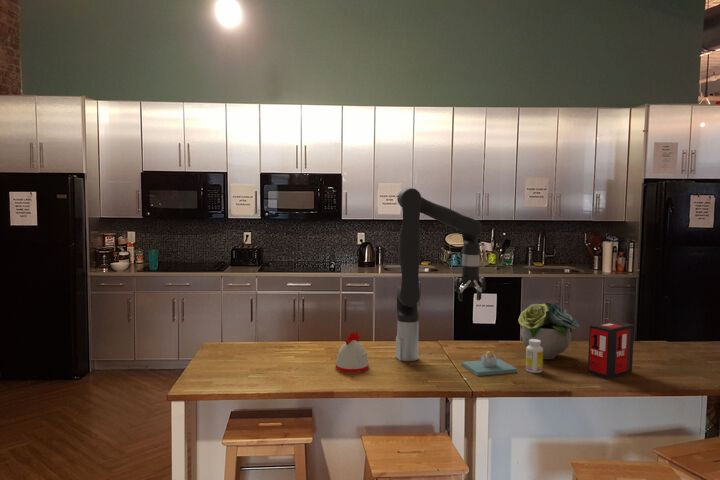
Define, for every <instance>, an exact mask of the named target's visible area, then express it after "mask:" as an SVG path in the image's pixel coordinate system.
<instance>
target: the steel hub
mask: <svg viewBox="0 0 720 480" xmlns="http://www.w3.org/2000/svg"><path fill="white" fill-rule="evenodd" d="M497 359H498V356H497V355H496V354H493V353H492V357H486V353H482V354H481V355H480V360H481V365H482V366H483V367H488V368H493V367H496V366H497Z"/></svg>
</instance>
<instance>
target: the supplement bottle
mask: <svg viewBox="0 0 720 480" xmlns="http://www.w3.org/2000/svg"><path fill="white" fill-rule="evenodd" d="M540 344H541V341H540V340H537V339H530V340H529V346H527V348H526V347H525V370H526V371H527V372H529V373H531V374H533V373H534V374H539V373H542V372H543V370H544V369H543V368H544V359H543V348H542V347H541V346H540Z"/></svg>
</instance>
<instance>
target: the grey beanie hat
mask: <svg viewBox="0 0 720 480" xmlns="http://www.w3.org/2000/svg"><path fill="white" fill-rule="evenodd" d="M360 336H361V334H360V333H358V331H355V332H353V331H352V332H349V335H348V336H346V337H347V339H344V342H345V343H343V344H342V345H341V347H340V348H339V349H338V350H337V357H336V360H335V370H337V369H338V370H340V371H339V372H341V371H343V372H342V373H346V372H358V373H361V372H360V371H363V372H366V371H368V370H369V368H368V367H369V365H370V364H369V359H368V358H369V357H368V353H367V351H366V349H365V347H364V346H363V345H362V344H361V343H360V342H359V339H360ZM338 370H337V371H338ZM365 370H366V371H365Z"/></svg>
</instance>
